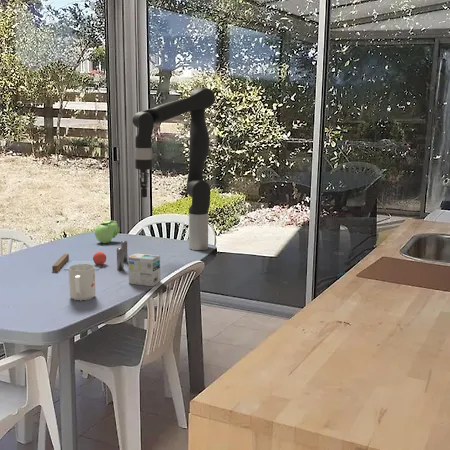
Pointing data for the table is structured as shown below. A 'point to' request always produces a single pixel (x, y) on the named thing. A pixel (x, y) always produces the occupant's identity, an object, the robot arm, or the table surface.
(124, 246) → the far post
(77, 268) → the mug
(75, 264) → the light blue tilted panel
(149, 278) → the light bulb box
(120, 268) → the near post
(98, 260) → the ball
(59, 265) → the stopper wall
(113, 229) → the green rounded piece
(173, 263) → the table surface
